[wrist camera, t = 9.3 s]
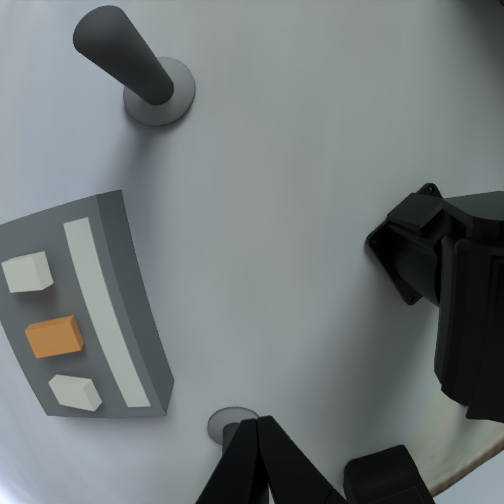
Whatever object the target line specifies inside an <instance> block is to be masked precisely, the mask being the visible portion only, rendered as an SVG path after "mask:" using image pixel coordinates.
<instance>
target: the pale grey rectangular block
mask: <svg viewBox="0 0 504 504" xmlns="http://www.w3.org/2000/svg"><path fill="white" fill-rule="evenodd" d="M1 264H2V267H3V271H4V274H5V277H6V281H7V284H8V287H9V290H10V293H13V292H24V291H35V290H43V289H45V288H46V287H48V286H50V285H51V284H53V283H54V282H53V279H52V276H51V273H50V269H49V266H48V262H47V259H46V255H45V251H43V252H38V253H33V254H29V255H24V256H19V257H15V258H11V259H9V260H7V261H5V262H2V263H1Z"/></svg>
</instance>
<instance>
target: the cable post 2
mask: <svg viewBox="0 0 504 504" xmlns="http://www.w3.org/2000/svg"><path fill="white" fill-rule="evenodd" d="M258 417H259V416H258V415H257V414H256V413H255V412H253V411H251V410H249V409H246V408H242V407H228V408H224V409H221V410H219V411H217V412H215V413H214V414H213V415H212V416H211V417H210V419H209V422H208V433H209V436H210V437H211V438H212V439H213V440H214V441H215V442H216V443H218V444H220V445H223V452H222V455H223V453H224V452H225V450H226V448H227V446H228V444H229V442H230V440H231V439H232V437H233V435H234V433H235V431H236V429H237V427H238V425H239V423H240V422H241V420H243V419H250V418H255V419H256V420H257V418H258Z"/></svg>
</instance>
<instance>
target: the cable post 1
mask: <svg viewBox="0 0 504 504" xmlns="http://www.w3.org/2000/svg"><path fill="white" fill-rule="evenodd" d="M73 44H74V47H75V49H76V50H77V51H78V52H79V53H81V54H82V55H84V56H85V57H86V58H88V59H89V60H91V61H92V62H93V63H95V64H96V65H97V66H99V67H100V68H102V69H103V70H104V71H106V72H107V73H108V74H110V75H111V76H113V77H114V78H115V79H117V80H118V81H119V82H121V83H122V84H123V85H125V87H124V93H123V98H124V104H125V106H126V109H127V110H128V112H129V113H130V115H131V116H132V117H134V118H135V119H136V120H138V121H140V122H142V123H144V124H147V125H151V126H162V125H167V124H170V123H172V122H174V121H176V120H178V119H179V118H180V117H182V116H183V115H184V114H185V113H186V112H187V111H188V109H189V108H190V106H191V104H192V102H193V100H194V97H195V81H194V78H193V76H192V73H191V72H190V70H189V69H188V67H187V66H186V65H185V64H183V63H182V62H180V61H179V60H177V59H174V58H170V57H157V58H156V57H155V55H154V54H153V52H152V51H151V49H150V48H149V47H148V45H147V44H146V42H145V41H144V39H143V38H142V37H141V35H140V34H139V32H138V31H137V30H136V28H135V27H134V25H133V24H132V23H131V21H130V20H129V18H128V17H127V16H126V14H125V13H124V12H123V10H121V9H120V8H118V7H116V6H109V5H108V6H102V7H98V8H96V9H94V10H92V11H90V12H89V13H88V14H86V15H85V16H84V17H83V18H82V19H81V20H80V22H79V23H78V25H77V26H76V28H75V31H74V34H73Z"/></svg>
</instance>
